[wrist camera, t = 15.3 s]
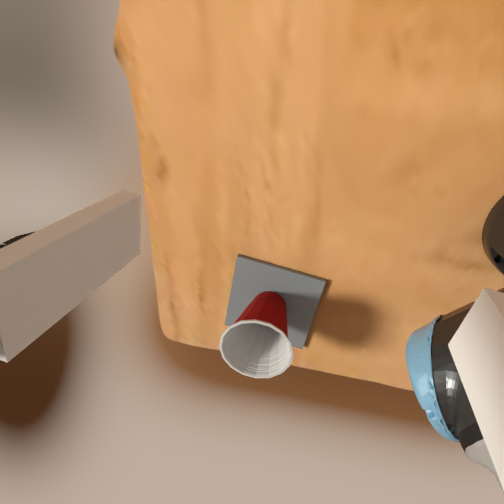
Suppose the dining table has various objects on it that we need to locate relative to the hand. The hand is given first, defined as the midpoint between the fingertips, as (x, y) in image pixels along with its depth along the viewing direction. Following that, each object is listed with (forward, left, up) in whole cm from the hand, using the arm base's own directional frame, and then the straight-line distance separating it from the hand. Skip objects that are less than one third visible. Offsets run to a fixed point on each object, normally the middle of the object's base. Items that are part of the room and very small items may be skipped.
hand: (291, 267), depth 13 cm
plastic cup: (+2, +29, -36) cm, 46 cm away
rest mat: (+2, +29, -37) cm, 47 cm away
